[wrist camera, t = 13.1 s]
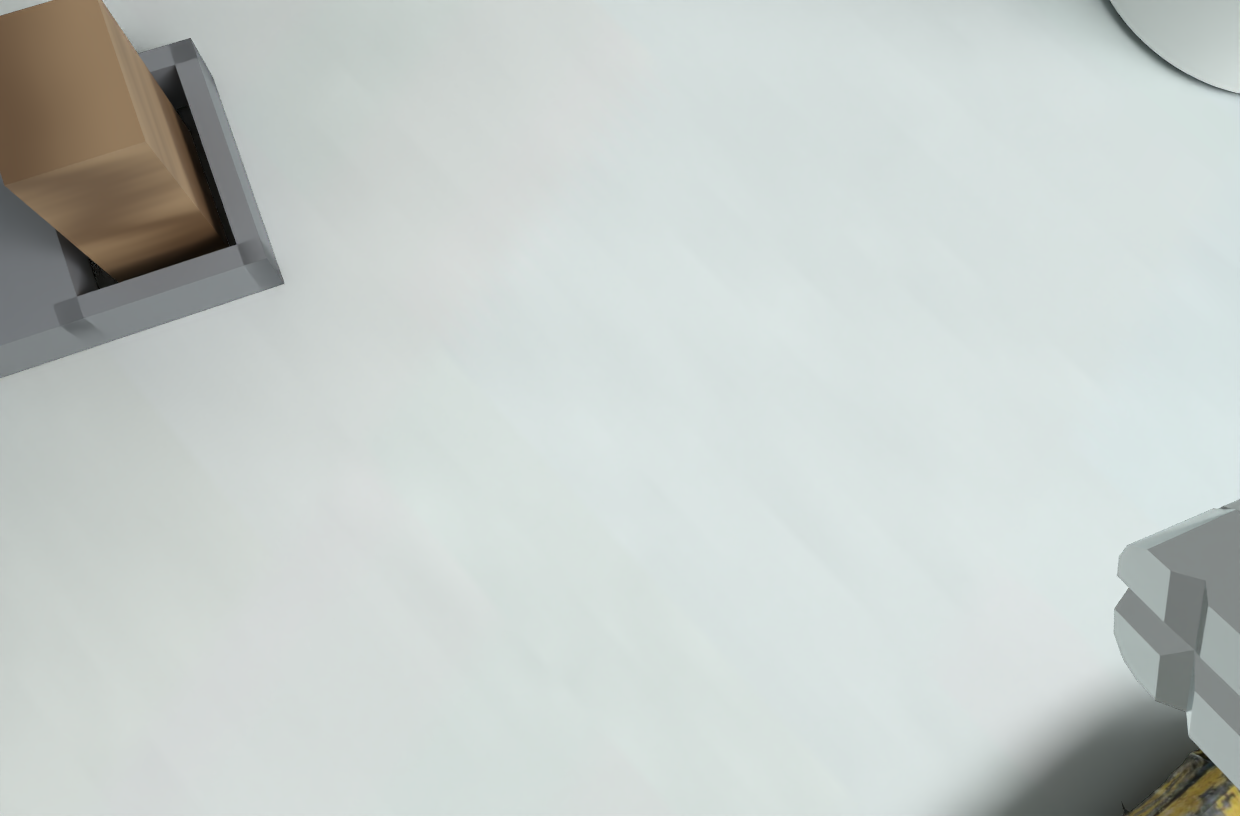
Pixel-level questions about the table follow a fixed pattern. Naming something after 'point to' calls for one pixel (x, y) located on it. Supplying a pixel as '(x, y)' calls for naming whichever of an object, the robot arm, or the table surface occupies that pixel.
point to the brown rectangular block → (99, 142)
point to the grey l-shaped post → (87, 317)
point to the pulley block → (1192, 792)
